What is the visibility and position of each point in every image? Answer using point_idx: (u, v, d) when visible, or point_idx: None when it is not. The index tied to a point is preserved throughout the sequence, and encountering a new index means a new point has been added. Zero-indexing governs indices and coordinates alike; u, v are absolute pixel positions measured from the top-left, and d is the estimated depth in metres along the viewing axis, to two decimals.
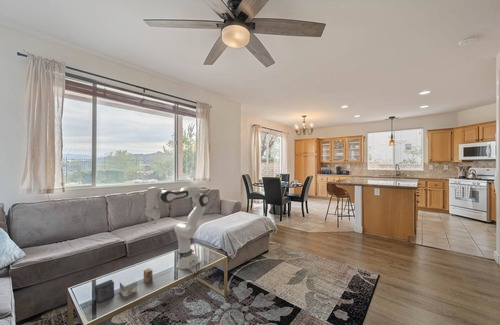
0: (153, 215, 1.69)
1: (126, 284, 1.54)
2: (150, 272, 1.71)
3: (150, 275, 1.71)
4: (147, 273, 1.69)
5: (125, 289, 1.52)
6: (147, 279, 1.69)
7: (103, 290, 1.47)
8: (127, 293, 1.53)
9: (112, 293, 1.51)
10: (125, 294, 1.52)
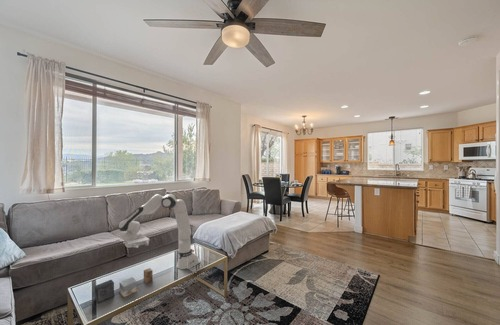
0: None
1: (126, 284, 1.54)
2: (150, 272, 1.71)
3: (150, 275, 1.71)
4: (147, 273, 1.69)
5: (125, 289, 1.52)
6: (147, 279, 1.69)
7: (103, 290, 1.47)
8: (126, 293, 1.53)
9: (112, 293, 1.51)
10: (125, 294, 1.52)
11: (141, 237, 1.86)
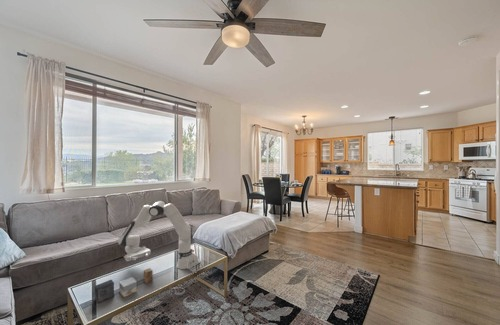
0: None
1: (126, 284, 1.54)
2: (150, 272, 1.71)
3: (150, 275, 1.71)
4: (147, 273, 1.69)
5: (125, 289, 1.52)
6: (147, 279, 1.69)
7: (103, 290, 1.47)
8: (126, 293, 1.53)
9: (112, 293, 1.51)
10: (125, 294, 1.52)
11: (142, 249, 1.90)
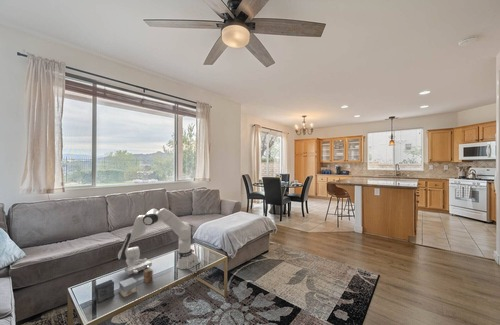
0: None
1: (126, 284, 1.54)
2: (150, 272, 1.71)
3: (150, 275, 1.71)
4: (147, 273, 1.69)
5: (125, 289, 1.52)
6: (147, 279, 1.69)
7: (103, 290, 1.47)
8: (126, 293, 1.53)
9: (112, 293, 1.51)
10: (125, 294, 1.52)
11: (143, 261, 1.89)
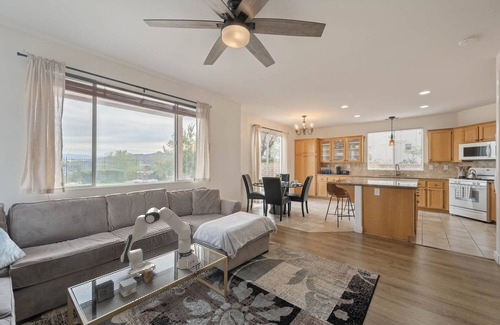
0: None
1: (126, 284, 1.54)
2: (150, 272, 1.71)
3: (150, 275, 1.71)
4: (147, 273, 1.69)
5: (125, 289, 1.52)
6: (147, 279, 1.69)
7: (103, 290, 1.47)
8: (126, 293, 1.53)
9: (112, 293, 1.51)
10: (125, 294, 1.52)
11: (147, 264, 1.85)
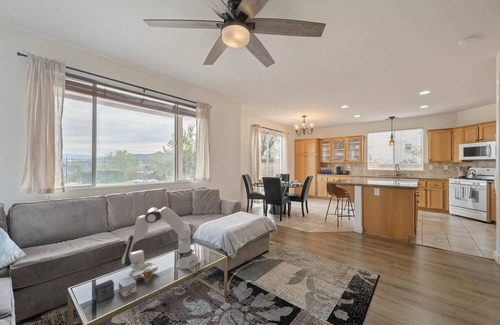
0: None
1: (125, 284, 1.54)
2: (150, 272, 1.71)
3: (150, 275, 1.71)
4: (147, 273, 1.69)
5: (124, 289, 1.52)
6: (147, 279, 1.69)
7: (103, 290, 1.47)
8: (126, 293, 1.53)
9: (112, 293, 1.51)
10: (125, 294, 1.52)
11: (149, 266, 1.82)
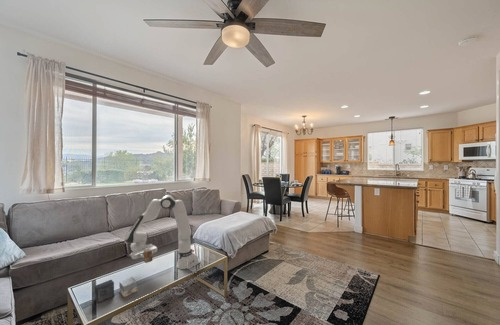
0: None
1: (126, 284, 1.54)
2: (150, 252, 1.70)
3: (150, 255, 1.70)
4: (147, 253, 1.69)
5: (125, 289, 1.52)
6: (147, 259, 1.69)
7: (103, 290, 1.47)
8: (127, 293, 1.53)
9: (112, 293, 1.51)
10: (125, 294, 1.52)
11: (149, 247, 1.81)
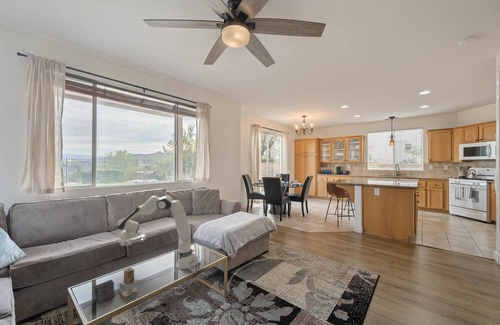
0: None
1: (127, 284, 1.54)
2: (131, 272, 1.57)
3: (131, 275, 1.57)
4: (128, 273, 1.55)
5: (127, 289, 1.52)
6: (128, 279, 1.55)
7: (103, 290, 1.47)
8: (127, 293, 1.53)
9: (112, 293, 1.51)
10: (126, 294, 1.52)
11: (137, 235, 1.88)
